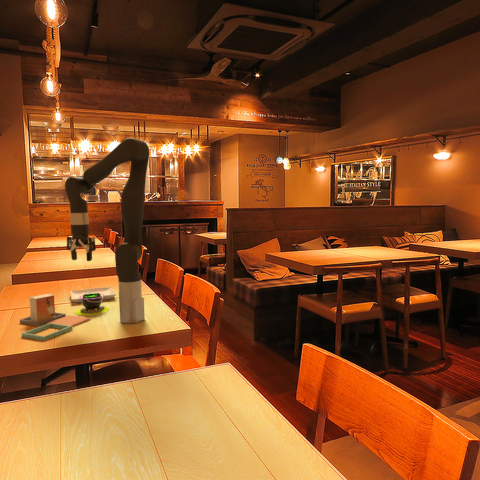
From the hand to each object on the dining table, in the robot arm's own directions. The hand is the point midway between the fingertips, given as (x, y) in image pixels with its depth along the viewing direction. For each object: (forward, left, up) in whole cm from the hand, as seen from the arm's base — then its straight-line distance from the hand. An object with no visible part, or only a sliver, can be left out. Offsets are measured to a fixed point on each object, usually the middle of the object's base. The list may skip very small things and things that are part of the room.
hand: (81, 260), depth 176 cm
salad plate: (+19, -26, -25) cm, 41 cm away
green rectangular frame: (-5, +24, -25) cm, 35 cm away
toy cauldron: (+2, -7, -25) cm, 26 cm away
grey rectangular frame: (+11, +12, -25) cm, 30 cm away
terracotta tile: (-2, +10, -25) cm, 27 cm away
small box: (+11, +12, -25) cm, 30 cm away
